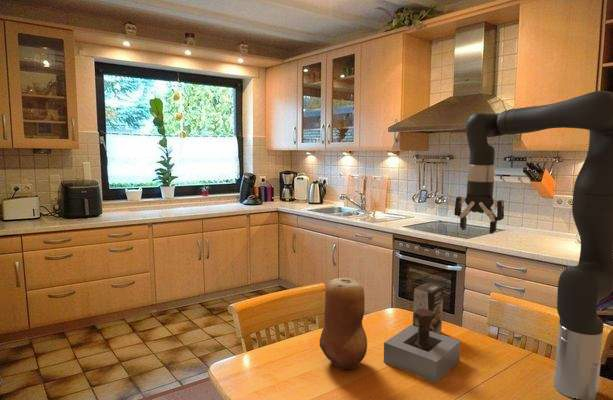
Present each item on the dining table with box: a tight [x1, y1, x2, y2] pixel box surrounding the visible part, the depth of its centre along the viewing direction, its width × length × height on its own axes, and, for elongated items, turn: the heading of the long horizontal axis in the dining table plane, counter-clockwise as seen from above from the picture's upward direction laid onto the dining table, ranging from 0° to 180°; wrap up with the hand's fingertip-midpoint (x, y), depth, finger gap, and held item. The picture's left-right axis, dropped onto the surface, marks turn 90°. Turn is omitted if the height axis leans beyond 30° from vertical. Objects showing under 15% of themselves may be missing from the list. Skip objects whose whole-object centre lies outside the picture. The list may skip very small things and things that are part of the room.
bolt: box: [414, 309, 435, 352], centre depth 120 cm, size 6×5×15 cm
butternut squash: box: [319, 277, 368, 370], centre depth 117 cm, size 14×13×25 cm
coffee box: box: [412, 282, 445, 334], centre depth 138 cm, size 9×6×16 cm
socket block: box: [383, 324, 461, 384], centre depth 120 cm, size 16×16×6 cm
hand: (477, 231), depth 129 cm, fingers open, 8 cm apart
